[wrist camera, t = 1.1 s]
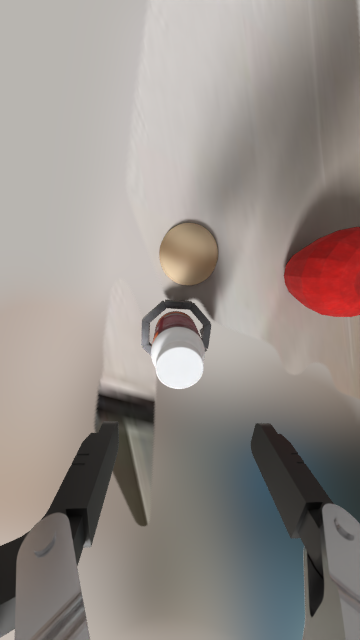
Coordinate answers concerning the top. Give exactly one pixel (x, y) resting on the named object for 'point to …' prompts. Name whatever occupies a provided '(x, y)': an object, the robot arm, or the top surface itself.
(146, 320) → the ring stand
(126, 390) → the top surface
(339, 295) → the apple
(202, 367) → the pill bottle
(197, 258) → the cork coaster
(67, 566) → the robot arm
